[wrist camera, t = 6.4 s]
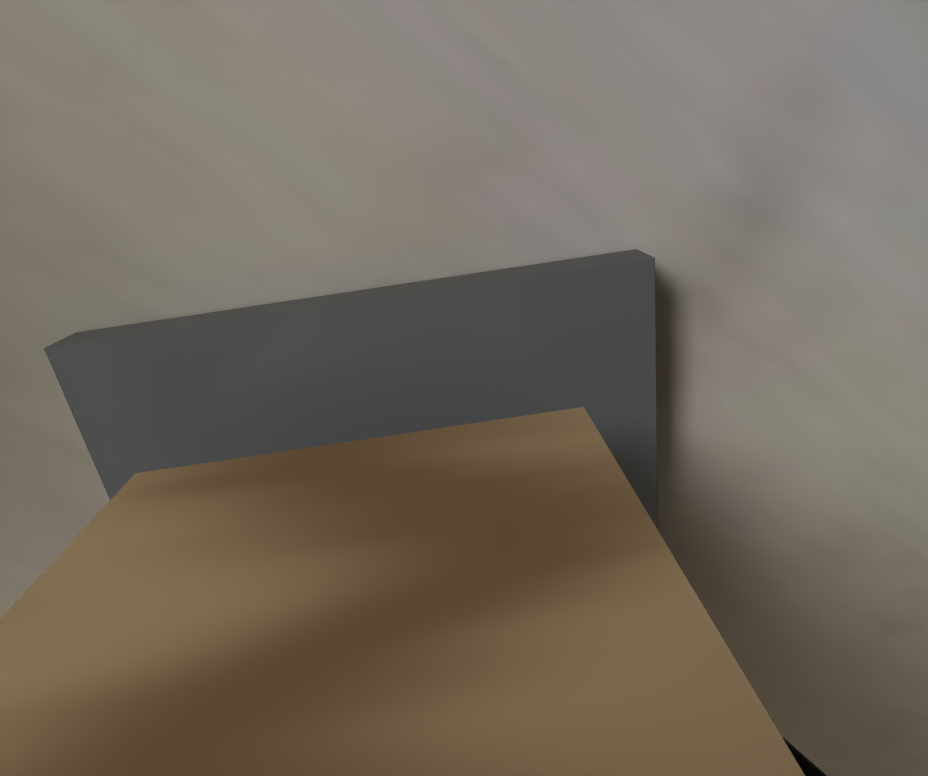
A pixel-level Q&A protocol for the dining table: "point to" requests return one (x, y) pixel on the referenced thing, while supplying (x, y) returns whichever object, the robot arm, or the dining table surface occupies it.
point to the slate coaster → (376, 368)
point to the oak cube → (379, 622)
